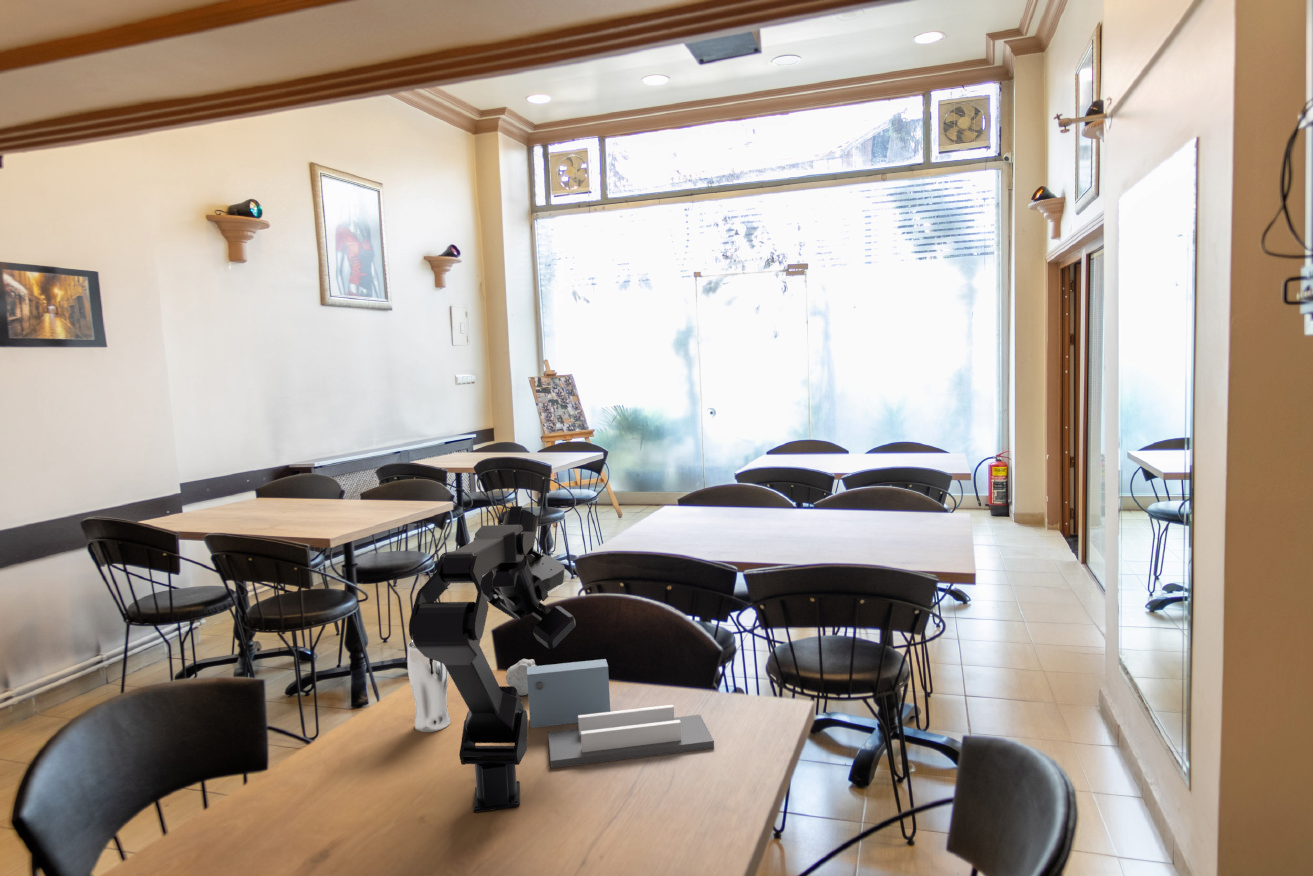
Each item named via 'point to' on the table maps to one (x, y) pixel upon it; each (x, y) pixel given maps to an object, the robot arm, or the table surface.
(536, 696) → the door
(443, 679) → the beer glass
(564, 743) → the hinge frame
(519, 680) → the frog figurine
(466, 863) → the table surface
